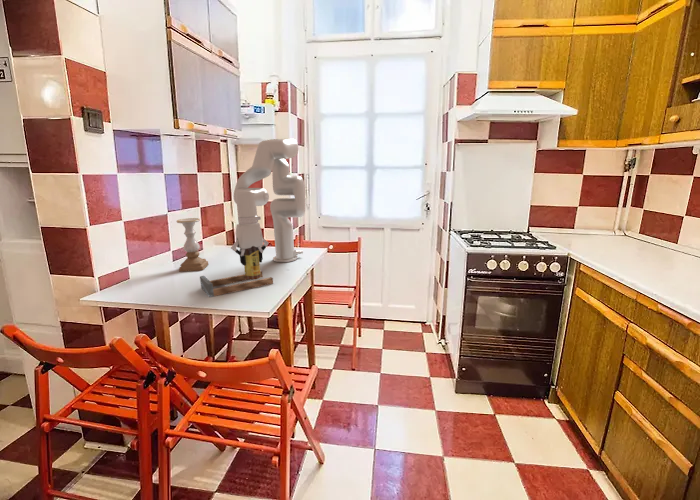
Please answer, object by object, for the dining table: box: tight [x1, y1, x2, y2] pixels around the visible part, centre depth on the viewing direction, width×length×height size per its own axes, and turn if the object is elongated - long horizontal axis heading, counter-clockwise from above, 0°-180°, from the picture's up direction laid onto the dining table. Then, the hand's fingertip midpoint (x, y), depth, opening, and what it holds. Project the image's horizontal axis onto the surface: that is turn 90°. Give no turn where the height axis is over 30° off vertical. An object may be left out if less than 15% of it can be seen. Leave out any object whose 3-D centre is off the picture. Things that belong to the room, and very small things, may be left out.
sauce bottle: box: [243, 246, 261, 281], centre depth 152 cm, size 6×6×20 cm
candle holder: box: [176, 217, 209, 273], centre depth 176 cm, size 11×11×24 cm
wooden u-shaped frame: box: [199, 270, 274, 298], centre depth 150 cm, size 26×13×5 cm, turn 124°
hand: (251, 262), depth 152 cm, fingers closed on sauce bottle, 6 cm apart
